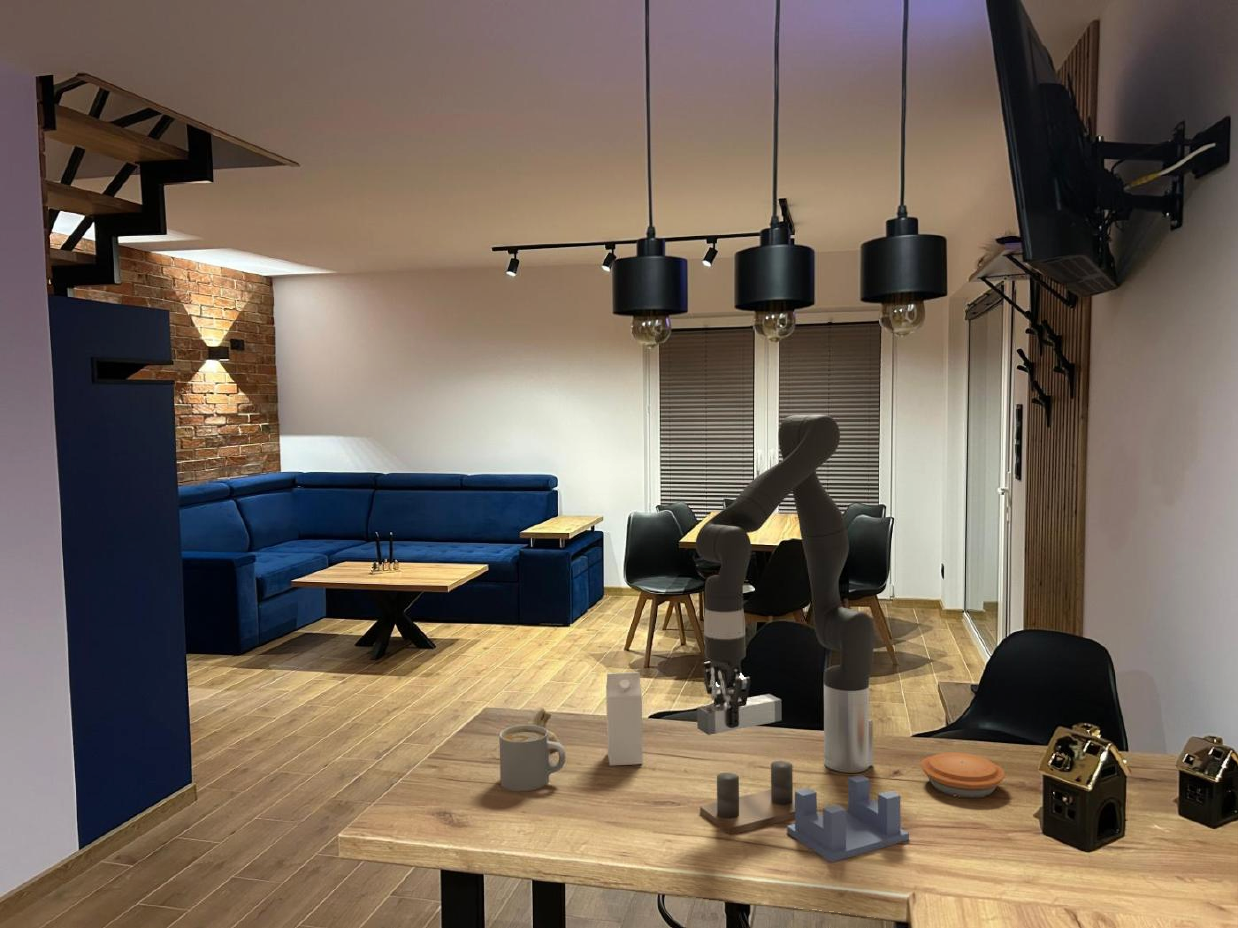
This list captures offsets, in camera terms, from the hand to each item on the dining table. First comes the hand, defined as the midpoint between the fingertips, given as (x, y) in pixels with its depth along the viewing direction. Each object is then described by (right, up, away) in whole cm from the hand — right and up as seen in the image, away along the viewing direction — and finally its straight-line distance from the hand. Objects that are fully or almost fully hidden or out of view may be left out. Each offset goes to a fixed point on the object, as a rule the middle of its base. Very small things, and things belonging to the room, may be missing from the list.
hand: (726, 722), depth 164 cm
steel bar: (+3, -1, +1) cm, 3 cm away
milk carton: (-19, -16, +27) cm, 37 cm away
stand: (+5, -17, 0) cm, 18 cm away
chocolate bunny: (-37, -16, +33) cm, 52 cm away
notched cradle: (+20, -17, -10) cm, 28 cm away
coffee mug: (-38, -17, +16) cm, 44 cm away
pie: (+48, -16, +11) cm, 52 cm away
